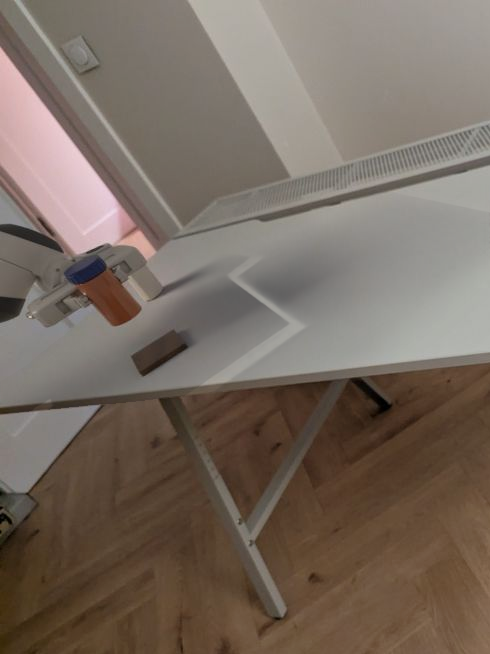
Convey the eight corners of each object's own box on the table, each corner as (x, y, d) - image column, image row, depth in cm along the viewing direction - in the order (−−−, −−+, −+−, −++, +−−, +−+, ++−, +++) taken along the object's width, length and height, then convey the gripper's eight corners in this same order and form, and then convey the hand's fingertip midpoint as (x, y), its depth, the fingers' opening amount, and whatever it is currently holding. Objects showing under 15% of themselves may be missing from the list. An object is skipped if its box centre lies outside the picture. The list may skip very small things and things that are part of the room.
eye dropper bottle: (140, 300, 127) (104, 258, 120) (160, 286, 130) (126, 244, 123) (148, 302, 124) (112, 259, 117) (169, 288, 127) (134, 244, 120)
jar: (113, 330, 94) (68, 280, 88) (108, 320, 98) (65, 272, 92) (144, 311, 96) (102, 261, 90) (138, 303, 100) (97, 255, 94)
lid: (74, 288, 88) (64, 278, 87) (70, 279, 93) (61, 270, 91) (109, 268, 90) (101, 258, 89) (104, 261, 95) (96, 251, 94)
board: (142, 376, 97) (139, 372, 97) (133, 359, 104) (130, 356, 103) (187, 347, 100) (184, 343, 100) (176, 332, 107) (173, 329, 106)
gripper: (9, 301, 94) (31, 312, 86) (114, 237, 105) (143, 241, 96) (37, 328, 98) (61, 341, 89) (135, 265, 108) (165, 271, 100)
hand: (104, 289), depth 93 cm, fingers closed on jar, 6 cm apart
